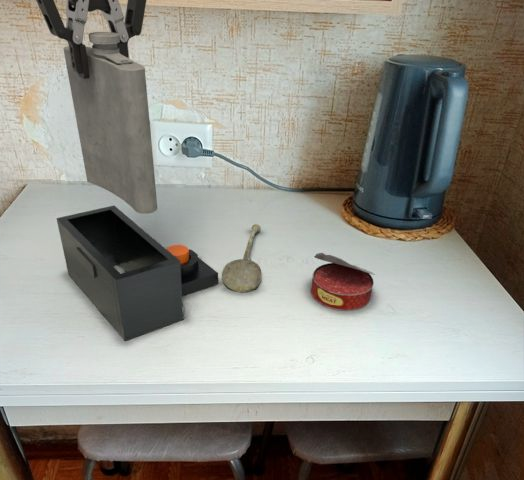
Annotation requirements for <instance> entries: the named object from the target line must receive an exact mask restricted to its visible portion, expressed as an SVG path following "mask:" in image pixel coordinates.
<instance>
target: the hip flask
mask: <svg viewBox="0 0 524 480" xmlns="http://www.w3.org/2000/svg"><path fill="white" fill-rule="evenodd" d="M88 41H89V43H91V44H92V45H91V46H86V53H87V61H88V68H89V75H90V77H89V79H83V78H81V77H79V75H78V73H76V72H74V70H73V68H72V63H71V56H70V50H69V45H67V46H63V55H64V60H65V66H66V71H67V76H68V83H69V89H70V95H71V98H72V104H73V109H74V115H75V122H76V126H77V132H78V136H79V144H80V149H81V155H82V160H83V165H84V170H85V177H86V181H87V182H88V183H89V184H92V185H94V186H97V187H99V188H101V189H104V190H105V191H108V192H109V193H112V194H113V195H115V196H116V197H118V198H120V199H121V200H123V202H125V203H126V204H128V206H129V207H131V208H132V209H133V210H134V211H135V212H136V213H139V214H153V213H155V212H157V211H158V208H159V207H158V198H157V197H158V196H157V187H156V186H157V185H156V176H155V175H156V174H155V164H154V153H153V144H152V133H151V132H152V131H151V123H150V110H149V109H150V108H149V100H148V90H147V78H146V77H147V76H146V68H145V66H143V65H142V64H140V63H138V62H136V61H134V60H132V59H131V58H130V57H129V58H127V57H125V56H123V55H122V54H120V51H119V46H117V43H119V42H120V38H119V34H118V33H113V32H110V31H93V32H90V33H88Z"/></svg>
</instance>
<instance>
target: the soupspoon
mask: <svg viewBox="0 0 524 480" xmlns="http://www.w3.org/2000/svg"><path fill="white" fill-rule="evenodd" d="M261 230H262V228H261V225H260V224H258V223H254V224H252V225H251V233H250V235H249V238H248V242H247V244H246V248H245V251H244V254H243V257H242V258H239V259H233V260H232V261H230V262H228V263H226V264H225V266H224V267H223V269H222V272H221V280H222V283H223V284H224V285H225V286H226V287H227V288H228V289H230V290H232V291H233V292H236V293H247V292H250V291H253V290H254V289H256V288H257V287H258V285H259V284H260V282H261V280H262V274H263V273H262V269H261V267H260V265H259V263H257V262H255V261H254V260H251V259H250V254H251V249H252V245H253V242H254V239H255V235H256V234H257V233H260V232H261Z"/></svg>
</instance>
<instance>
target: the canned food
mask: <svg viewBox="0 0 524 480" xmlns="http://www.w3.org/2000/svg"><path fill="white" fill-rule="evenodd" d="M313 257H314V258H315V259H317V260H320V261H324V262H328V263H325V264H322V265H319V266H318V267H316V268H315V269H314V271H313V273H312V279H311V287H310V294H311V296H312V298H313V299H314V301H316V302H317V303H318V304H320V305H321V306H323V307H325V308H328V309H331V310H336V311H345V312H350V311H357V310H360V309H363V308H364V307H366V306H367V305H368V304H369V302H370V300H371V296H372V292H373V287H374V283H375V282H374V281H375V280H374V278H373V276H375V275H376V274H375V273H374V272H373V271H370V270H368V269H365V268H362V267H360V266H357V265H354V264H352V263H349V262H347V261H346V260H343V259H342V258H339V257H338V256H334V255H331V254H326V253H324V252H318V253H316V254H315V255H314V256H313ZM372 275H373V276H372Z"/></svg>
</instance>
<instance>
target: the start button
mask: <svg viewBox="0 0 524 480" xmlns="http://www.w3.org/2000/svg"><path fill="white" fill-rule="evenodd" d="M166 249H167V250H168V251H169V252H170V253H171V254H173V255H174V256H175V257H176V258H177V259H178V260H180V264H182V263H186V262H188V261H189V247H188V246H186V245H183V244H172V245H169V246H167V247H166Z"/></svg>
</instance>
